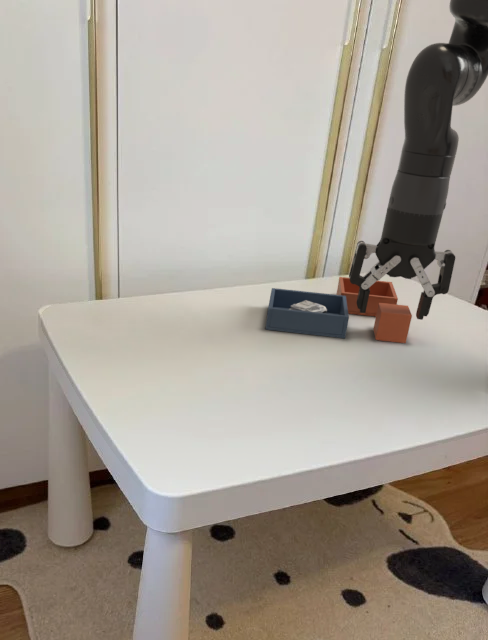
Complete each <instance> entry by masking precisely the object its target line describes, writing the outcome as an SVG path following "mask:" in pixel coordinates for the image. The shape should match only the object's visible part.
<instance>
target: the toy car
mask: <svg viewBox="0 0 488 640" xmlns="http://www.w3.org/2000/svg"><path fill="white" fill-rule="evenodd" d="M290 310H299V311H308V312H318V313H327V309H326V307H325V306H323V305H320V304H317V303H313V302H310V301H307V300H305V301H303V302H300V303H297V304H293V305H291V308H290Z"/></svg>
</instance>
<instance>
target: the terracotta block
mask: <svg viewBox="0 0 488 640" xmlns="http://www.w3.org/2000/svg"><path fill="white" fill-rule="evenodd" d="M412 318H413V314H412V312H411V310H410V307H409V305H406V304H397V305H396V304H386V303H379V304H378V309H377V313H376V317H375V320H374V324H373V328H372V329H373V334H374V339H375V340H376V341H382V342H392V343H398V344H399V343H400V344H406V343H407V339H408V335H409V331H410V326H411V322H412Z"/></svg>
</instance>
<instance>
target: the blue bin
mask: <svg viewBox="0 0 488 640" xmlns="http://www.w3.org/2000/svg"><path fill="white" fill-rule="evenodd" d="M305 300H307V301H310V302H313V303H317V304H320V305H323V306H325V307H326V309H327V313H318V312H308V311H299V310H290V308H291V305H293V304H297V303H300V302H303V301H305ZM349 315H350V314H348V307H347V300H346V296H342V295H336V294H334V293H333V294H332V293H323V292H315V291H314V292H313V291H304V290H296V289H295V290H293V289H286V288H277V287H272V288H271V290H270V296H269V300H268V305H267V313H266V323H265V330H268V331H277V332H284V333H285V332H287V333H295V334H304V335H311V336H319V337H329V338H336V339H337V338H338V339H346V335H347V331H348V330H347V329H348V324H349V319H350V316H349Z"/></svg>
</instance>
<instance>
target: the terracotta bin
mask: <svg viewBox="0 0 488 640" xmlns="http://www.w3.org/2000/svg"><path fill="white" fill-rule="evenodd" d="M369 289H370V294H369V298H368V303H367V308H366V312H365V313H360V309H358V307H357V303H356V302H357V297H358V292H359V286H358V285H355V284H352V283H351V282H350V278H349V277H345V276H339V277H338V282H337V289H336V294H335V295H342V296H346V300H347V307H348V315H357V316H358V315H359V316H367V317H375V318H376V313H377V309H378V304H379V303H386V304H396V305H398V300H399V297H398V295H397V292H396V290H395V287H394V284H393V281H385V280H378V281H376V282H375V283H374V284H373V285H372V286H370V287H369Z"/></svg>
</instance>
